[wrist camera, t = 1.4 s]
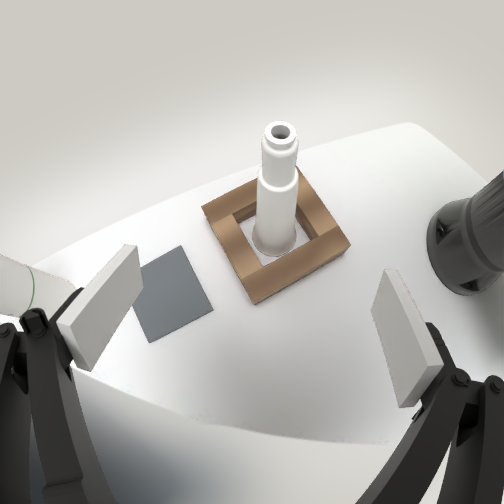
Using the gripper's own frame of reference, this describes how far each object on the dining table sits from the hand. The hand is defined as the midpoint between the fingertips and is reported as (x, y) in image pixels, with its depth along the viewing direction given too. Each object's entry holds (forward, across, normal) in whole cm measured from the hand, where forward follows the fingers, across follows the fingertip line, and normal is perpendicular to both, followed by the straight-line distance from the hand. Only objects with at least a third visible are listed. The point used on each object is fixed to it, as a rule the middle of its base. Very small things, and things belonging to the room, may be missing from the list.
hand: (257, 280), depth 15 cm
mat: (+18, -13, -16) cm, 27 cm away
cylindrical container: (+15, -31, -19) cm, 39 cm away
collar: (+24, +1, -9) cm, 26 cm away
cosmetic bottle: (+25, +1, -9) cm, 26 cm away
